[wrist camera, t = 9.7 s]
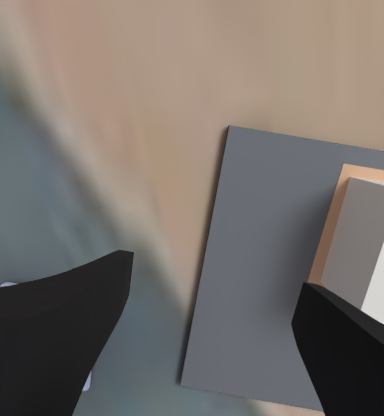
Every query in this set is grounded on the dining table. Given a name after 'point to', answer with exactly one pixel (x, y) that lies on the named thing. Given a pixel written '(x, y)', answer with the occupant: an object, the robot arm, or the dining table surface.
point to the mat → (267, 261)
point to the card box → (359, 249)
